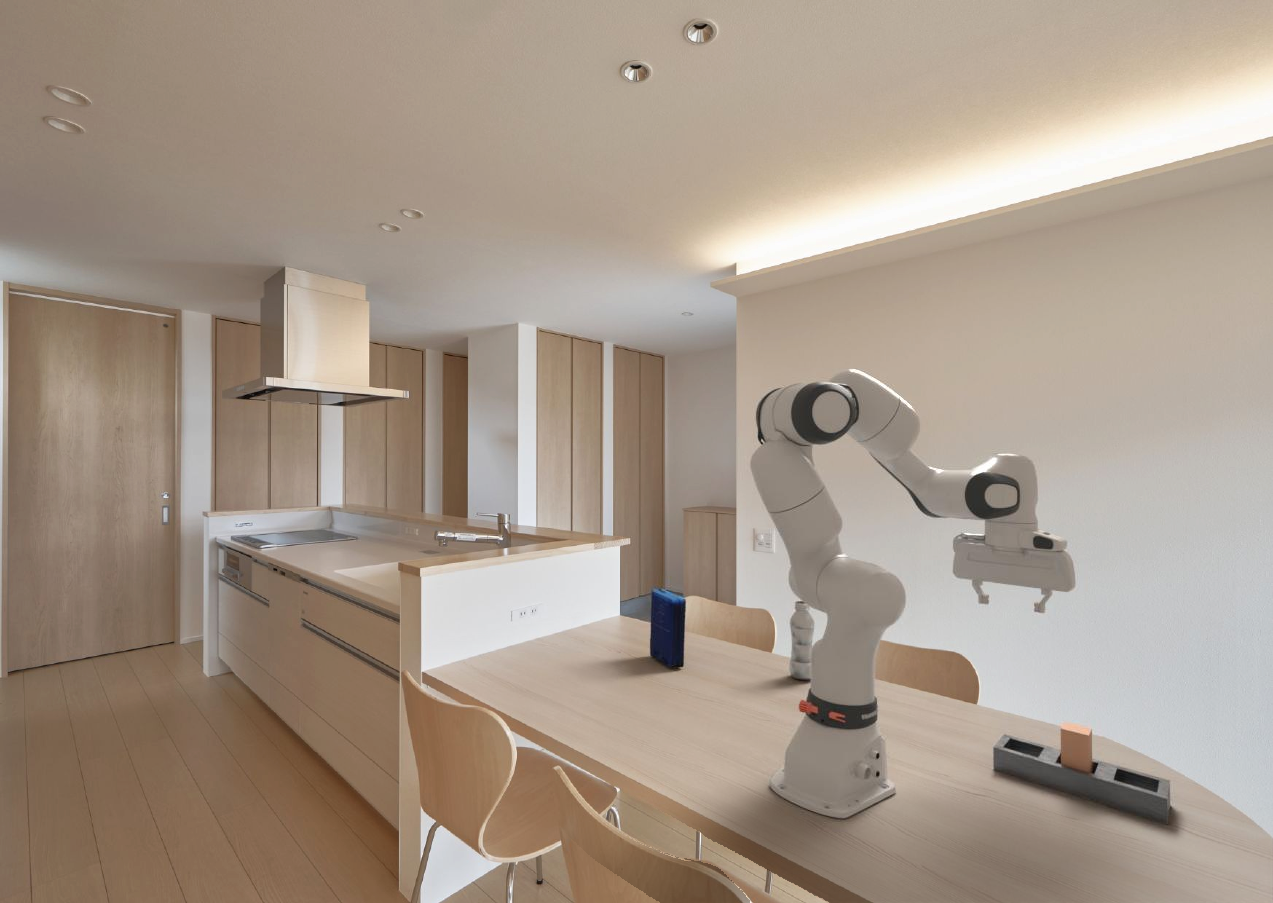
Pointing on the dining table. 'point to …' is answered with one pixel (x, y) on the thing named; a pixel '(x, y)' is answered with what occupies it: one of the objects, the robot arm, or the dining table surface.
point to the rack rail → (1085, 778)
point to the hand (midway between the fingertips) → (1010, 607)
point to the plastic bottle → (801, 641)
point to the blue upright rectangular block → (667, 628)
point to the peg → (1076, 747)
